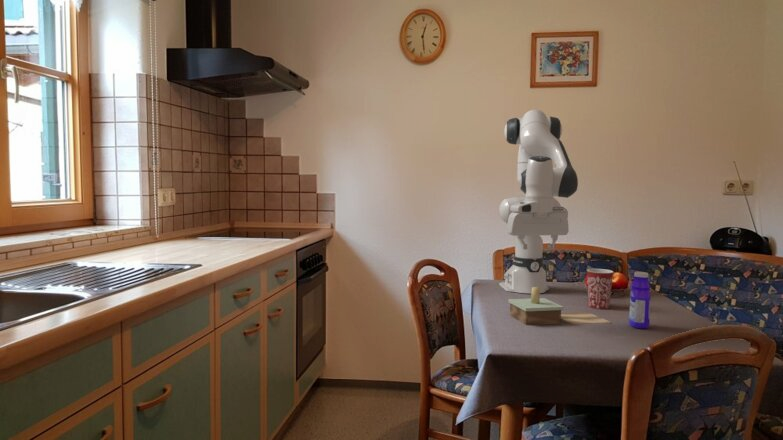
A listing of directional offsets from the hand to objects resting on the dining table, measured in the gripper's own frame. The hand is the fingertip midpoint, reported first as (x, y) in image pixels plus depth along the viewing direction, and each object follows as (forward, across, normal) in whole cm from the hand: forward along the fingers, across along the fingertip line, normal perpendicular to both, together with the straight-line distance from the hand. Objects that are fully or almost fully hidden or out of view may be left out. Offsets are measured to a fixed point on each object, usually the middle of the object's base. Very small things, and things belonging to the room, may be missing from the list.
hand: (537, 249), depth 181 cm
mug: (+24, -34, -16) cm, 44 cm away
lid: (+19, 0, 0) cm, 19 cm away
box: (+24, 0, 0) cm, 24 cm away
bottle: (+24, -30, +12) cm, 40 cm away
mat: (+24, -16, +1) cm, 29 cm away
